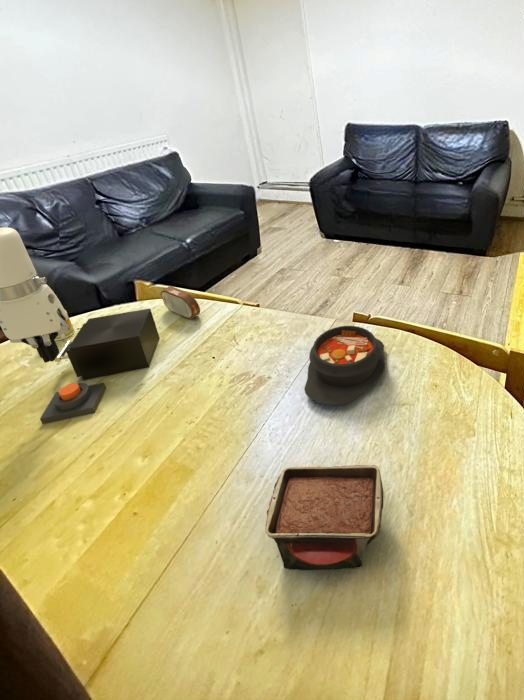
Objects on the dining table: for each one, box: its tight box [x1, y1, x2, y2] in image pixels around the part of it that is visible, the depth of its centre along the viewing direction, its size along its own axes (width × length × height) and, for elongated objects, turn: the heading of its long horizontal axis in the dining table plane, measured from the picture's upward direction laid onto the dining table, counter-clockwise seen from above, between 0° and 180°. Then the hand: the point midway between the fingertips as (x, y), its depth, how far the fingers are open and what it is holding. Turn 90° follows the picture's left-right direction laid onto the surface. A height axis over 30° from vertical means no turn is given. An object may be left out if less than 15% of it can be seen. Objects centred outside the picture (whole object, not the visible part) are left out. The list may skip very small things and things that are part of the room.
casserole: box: [303, 325, 386, 406], centre depth 98 cm, size 25×19×8 cm
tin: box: [160, 285, 201, 320], centre depth 124 cm, size 15×3×8 cm, turn 59°
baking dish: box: [264, 464, 384, 571], centre depth 65 cm, size 14×18×10 cm
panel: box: [39, 382, 107, 425], centre depth 93 cm, size 10×8×4 cm
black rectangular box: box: [69, 308, 160, 382], centre depth 106 cm, size 15×13×10 cm
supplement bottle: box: [55, 310, 75, 341], centre depth 116 cm, size 5×5×10 cm
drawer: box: [54, 323, 86, 378], centre depth 105 cm, size 18×12×8 cm, turn 106°
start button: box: [58, 382, 81, 401], centre depth 92 cm, size 4×4×2 cm
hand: (52, 357), depth 92 cm, fingers closed
